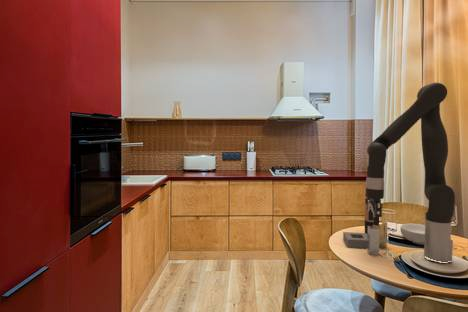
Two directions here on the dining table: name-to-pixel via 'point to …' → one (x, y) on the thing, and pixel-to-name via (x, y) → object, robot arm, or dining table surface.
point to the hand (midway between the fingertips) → (373, 222)
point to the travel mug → (367, 222)
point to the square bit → (373, 240)
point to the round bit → (382, 234)
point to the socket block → (355, 240)
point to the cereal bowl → (414, 233)
